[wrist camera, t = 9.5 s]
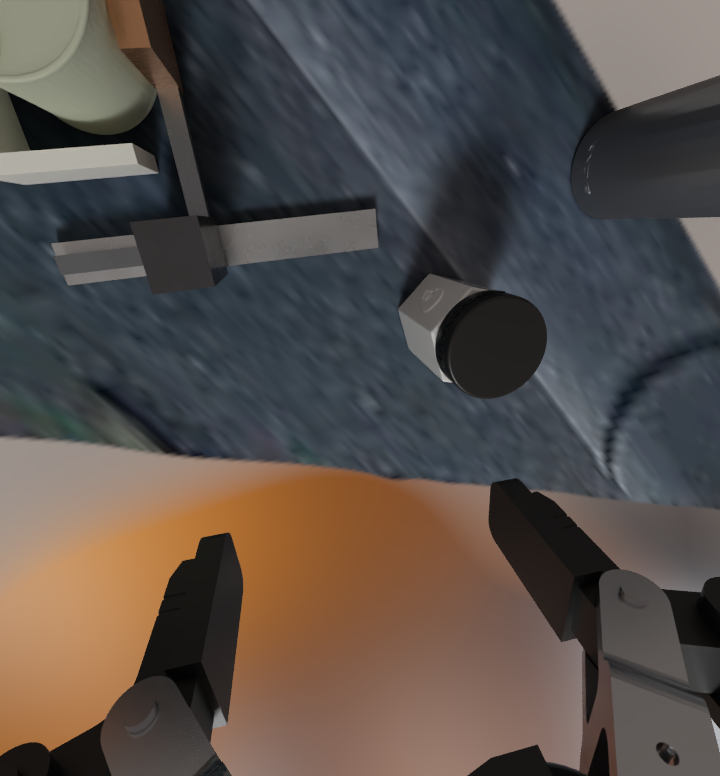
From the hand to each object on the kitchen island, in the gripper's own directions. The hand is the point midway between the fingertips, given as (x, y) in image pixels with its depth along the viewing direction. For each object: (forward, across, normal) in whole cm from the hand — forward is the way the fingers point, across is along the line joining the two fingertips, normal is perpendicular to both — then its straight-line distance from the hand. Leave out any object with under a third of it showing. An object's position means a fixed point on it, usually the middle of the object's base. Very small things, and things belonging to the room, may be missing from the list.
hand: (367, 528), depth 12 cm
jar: (+28, -13, +1) cm, 31 cm away
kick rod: (+27, +13, -14) cm, 33 cm away
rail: (+28, +6, -8) cm, 29 cm away
